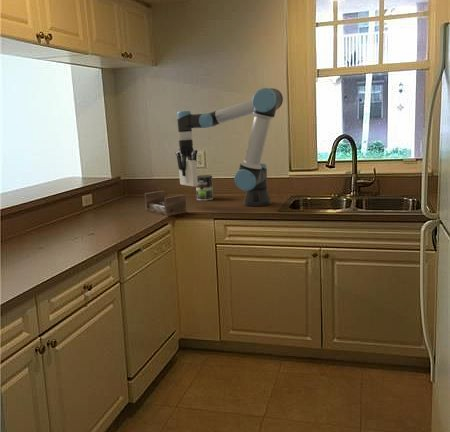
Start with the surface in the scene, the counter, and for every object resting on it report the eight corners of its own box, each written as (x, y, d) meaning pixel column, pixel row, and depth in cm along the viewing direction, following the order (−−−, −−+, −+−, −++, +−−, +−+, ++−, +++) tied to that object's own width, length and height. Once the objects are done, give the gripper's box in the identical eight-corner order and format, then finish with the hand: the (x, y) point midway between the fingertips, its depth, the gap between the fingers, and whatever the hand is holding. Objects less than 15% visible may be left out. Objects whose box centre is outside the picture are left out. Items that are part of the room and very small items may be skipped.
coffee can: (210, 200, 315) (209, 177, 312) (194, 200, 318) (192, 177, 315) (215, 197, 325) (214, 174, 322) (199, 197, 328) (198, 175, 325)
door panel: (197, 185, 292) (196, 160, 289) (192, 186, 290) (191, 161, 287) (184, 183, 303) (182, 159, 300) (179, 184, 301) (177, 160, 298)
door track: (186, 212, 284) (185, 195, 282) (167, 216, 277) (165, 198, 275) (164, 206, 303) (162, 190, 301) (145, 210, 296) (144, 193, 294)
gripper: (194, 138, 299) (196, 179, 304) (169, 140, 290) (172, 182, 294) (201, 138, 293) (204, 180, 298) (176, 140, 284) (179, 183, 288)
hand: (188, 181), depth 296 cm, fingers closed on door panel, 3 cm apart
